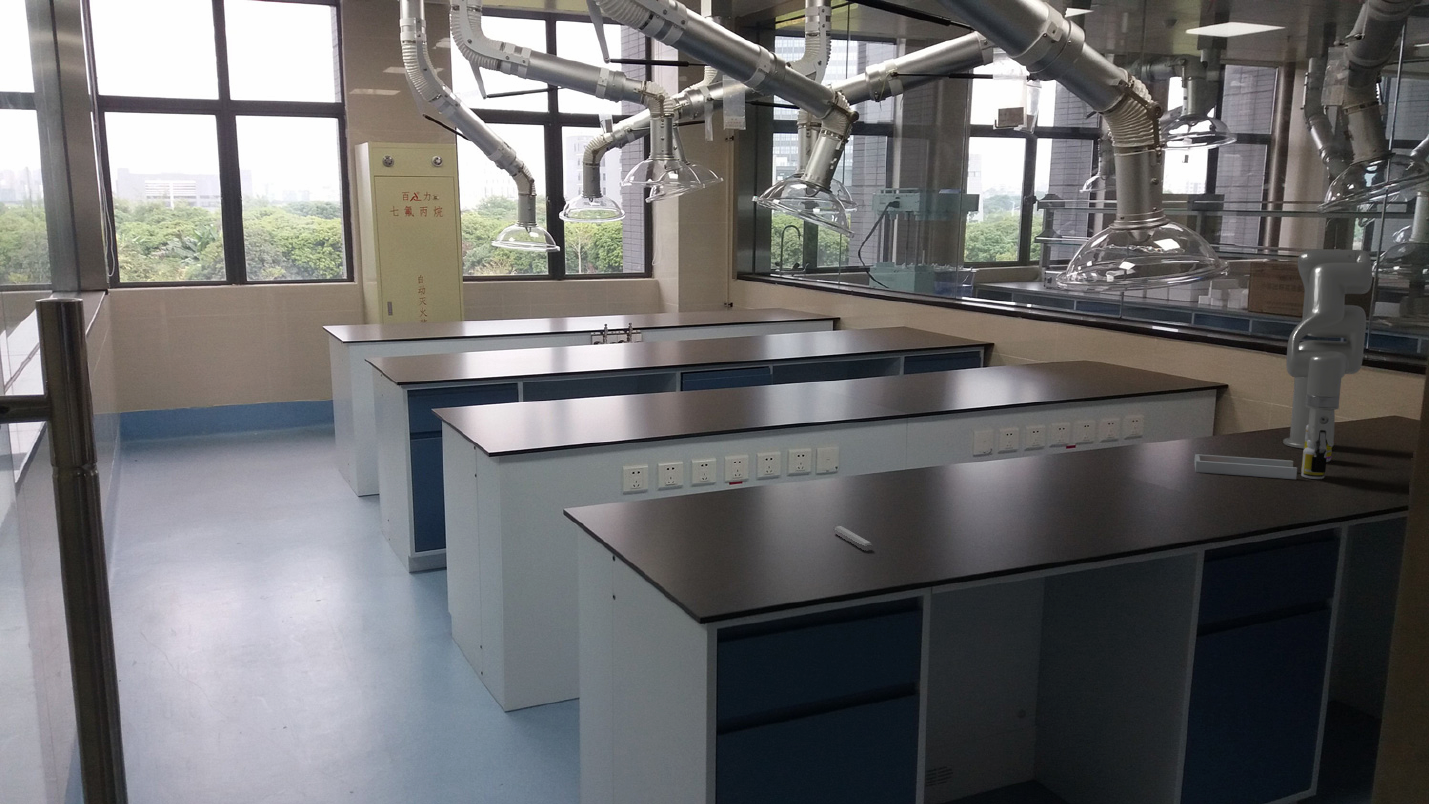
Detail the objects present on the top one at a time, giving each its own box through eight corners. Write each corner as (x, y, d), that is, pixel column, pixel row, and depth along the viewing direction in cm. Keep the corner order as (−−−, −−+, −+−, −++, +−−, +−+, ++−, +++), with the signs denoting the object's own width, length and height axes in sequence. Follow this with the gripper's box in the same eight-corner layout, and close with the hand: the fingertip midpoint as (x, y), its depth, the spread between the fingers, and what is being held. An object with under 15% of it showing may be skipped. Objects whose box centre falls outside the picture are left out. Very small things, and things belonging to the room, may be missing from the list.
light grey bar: (833, 534, 233) (869, 554, 218) (826, 531, 232) (861, 551, 217) (838, 524, 233) (874, 543, 218) (831, 520, 232) (867, 540, 217)
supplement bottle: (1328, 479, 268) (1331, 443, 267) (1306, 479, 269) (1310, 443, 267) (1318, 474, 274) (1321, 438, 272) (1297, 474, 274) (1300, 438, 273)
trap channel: (1194, 464, 287) (1195, 454, 286) (1291, 471, 278) (1292, 460, 277) (1195, 472, 279) (1196, 461, 278) (1296, 479, 269) (1297, 468, 269)
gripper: (1344, 408, 258) (1338, 478, 261) (1333, 397, 274) (1327, 463, 277) (1310, 406, 261) (1304, 475, 264) (1301, 396, 277) (1295, 461, 280)
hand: (1316, 468), depth 271 cm, fingers closed on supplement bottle, 5 cm apart
